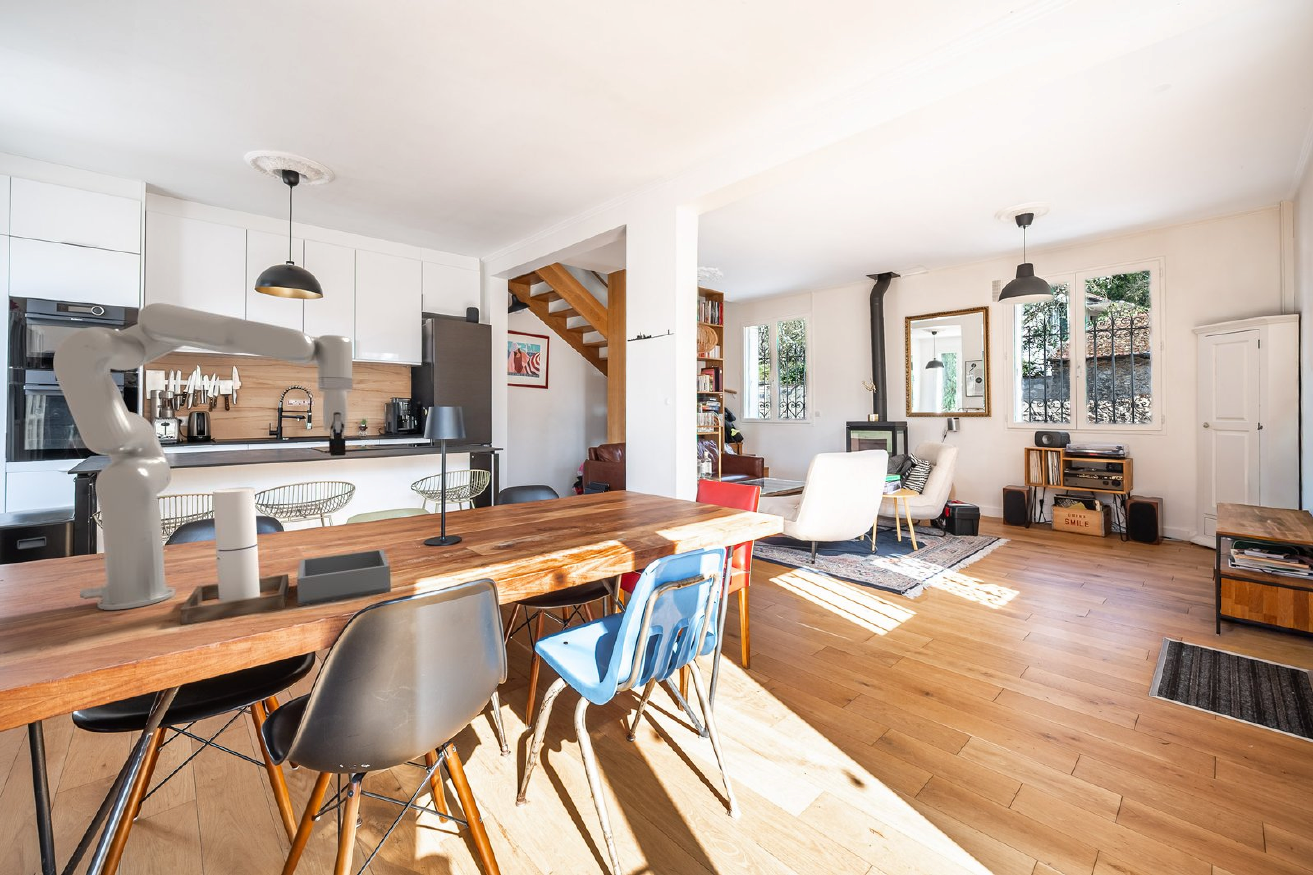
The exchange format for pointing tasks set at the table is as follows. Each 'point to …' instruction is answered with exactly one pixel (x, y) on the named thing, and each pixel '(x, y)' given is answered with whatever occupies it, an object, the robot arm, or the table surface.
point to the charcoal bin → (342, 576)
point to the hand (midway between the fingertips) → (337, 454)
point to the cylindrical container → (236, 543)
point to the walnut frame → (234, 601)
